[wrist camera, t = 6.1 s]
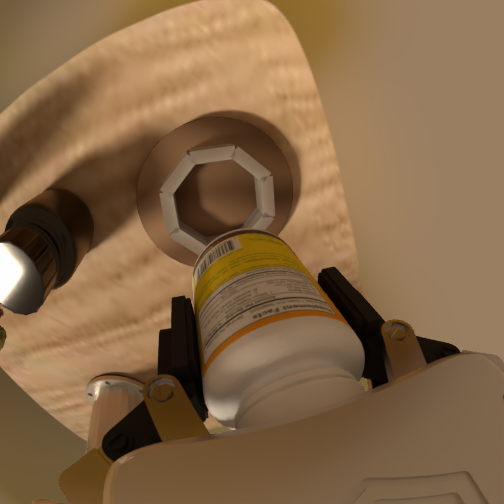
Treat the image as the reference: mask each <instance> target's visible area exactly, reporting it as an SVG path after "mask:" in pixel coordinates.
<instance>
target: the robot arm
mask: <svg viewBox="0 0 504 504" xmlns="http://www.w3.org/2000/svg"><path fill="white" fill-rule="evenodd" d="M318 284H319V285H320V287H321V288H322V289H323V291H324V292H325V293H326V294H327V295H328V297H329V299H330V300H331V301H332V302H333V304H334V305H335V307H336V308H337V309H338V311H339V312H340V313H341V315H342V316H343V317H344V319H345V320H346V321H347V323H348V324H349V325H350V327H351V328H352V329H353V331H354V332H355V333H356V335H357V337H358V338H359V340H360V341H361V344H362V346H363V349H364V354H365V364H364V370H363V373H362V377H364V378H366V379H367V383H368V389H369V391H366V392H364V393H361V394H358V395H356V396H353V397H350V398H348V399H345V400H342V401H339V402H337V403H334V404H331V405H328V406H325V407H322V408H318V409H315V410H312V411H309V412H305V413H302V414H299V415H295V416H292V417H288V418H284V419H280V420H277V421H273V422H268V423H264V424H260V425H256V426H251V427H246V428H242V429H236V430H231V431H226V432H220V433H215V434H210V433H209V432H208V430H207V428H206V427H205V425H204V423H203V422H204V421H205V420H206V418H208V411H209V410H208V408H207V406H206V403H205V399H204V395H203V387H202V379H201V370H200V362H199V353H198V344H197V334H196V324H195V315H194V311H193V307H192V304H191V300H190V298H187V299H186V298H185V296H179V297H173V298H172V312H171V328H170V329H163V330H160V332H159V348H158V376H154V377H153V378H151V379H149V380H148V381H147V382H146V383H145V385H144V384H142V383H140V382H138V381H136V380H133V379H130V378H127V377H122V376H114V375H106V376H100V377H97V378H94V379H93V380H91V381H90V382H89V383H88V385H87V388H86V398H87V400H88V402H89V403H90V404H91V405H92V413H91V419H90V426H89V434H88V442H87V451H86V455H84V456H83V457H82V458H80V459H79V460H78V461H76V462H75V463H74V464H72V465H71V466H70V467H68V468H67V469H65V470H64V471H63V472H62V473H61V474H60V476H59V479H58V483H59V487H60V489H61V491H62V492H63V494H64V496H65V497H66V498H67V500H68V501H69V503H70V504H504V363H503V361H502V360H501V359H500V358H499V357H498V356H496V355H492V354H485V353H479V352H471V351H466V350H463V351H462V353H461V352H460V351H459V349H458V348H457V347H456V346H454V345H452V344H449V343H445V342H441V341H436V340H431V339H427V338H422V337H418V336H416V335H415V333H414V330H413V329H412V327H411V326H410V325H409V324H408V323H406V322H404V321H401V320H389V321H387V322H385V321H384V320H383V319H382V317H381V316H380V315H379V314H378V313H377V312H376V311H375V309H374V308H373V307H372V306H371V305H370V304H369V303H368V302H367V300H366V299H365V298H364V297H363V296H362V295H361V294H360V293H359V292H358V291H357V290H356V289H355V288H354V287H353V286H352V285H351V284H350V283H349V282H348V281H347V280H346V278H345V277H344V276H343V275H342V274H341V273H340V272H339V271H338V270H337V269H336V268H335V267H330V268H325V269H322V271H321V273H319V274H318ZM362 377H361V378H362ZM32 504H62V503H59V502H56V501H52V500H49V499H44V498H39V499H36V500H34V501H33V502H32Z"/></svg>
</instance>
